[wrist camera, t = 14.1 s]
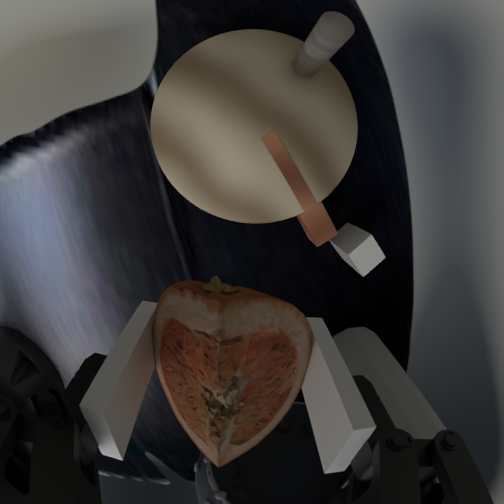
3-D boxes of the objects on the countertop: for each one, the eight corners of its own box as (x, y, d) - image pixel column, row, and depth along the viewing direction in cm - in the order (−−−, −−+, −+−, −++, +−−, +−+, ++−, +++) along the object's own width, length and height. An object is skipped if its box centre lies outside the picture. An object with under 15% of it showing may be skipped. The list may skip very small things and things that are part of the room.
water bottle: (387, 325, 29) (513, 488, 5) (358, 376, 31) (440, 539, 7) (320, 311, 28) (440, 544, 4) (293, 369, 30) (352, 578, 6)
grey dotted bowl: (199, 389, 30) (185, 544, 11) (356, 385, 32) (416, 508, 12) (202, 437, 33) (196, 558, 14) (335, 432, 35) (371, 537, 15)
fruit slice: (156, 242, 11) (105, 292, 6) (315, 255, 12) (362, 312, 7) (165, 388, 14) (146, 459, 9) (285, 396, 14) (299, 469, 9)
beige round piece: (290, 271, 25) (323, 331, 15) (123, 145, 21) (59, 135, 11) (395, 142, 22) (469, 137, 13) (240, 14, 18) (245, -53, 8)
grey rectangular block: (327, 239, 25) (348, 254, 21) (347, 222, 25) (371, 234, 20) (341, 258, 26) (363, 276, 21) (360, 241, 26) (385, 257, 21)
